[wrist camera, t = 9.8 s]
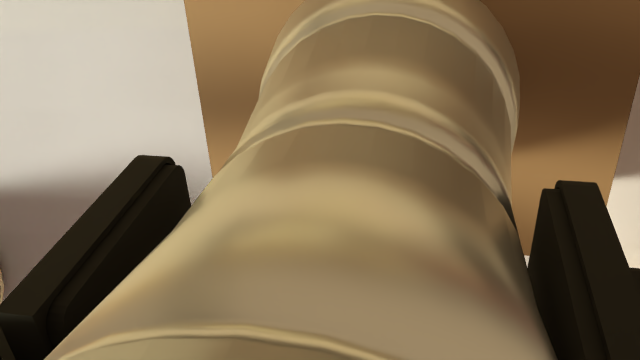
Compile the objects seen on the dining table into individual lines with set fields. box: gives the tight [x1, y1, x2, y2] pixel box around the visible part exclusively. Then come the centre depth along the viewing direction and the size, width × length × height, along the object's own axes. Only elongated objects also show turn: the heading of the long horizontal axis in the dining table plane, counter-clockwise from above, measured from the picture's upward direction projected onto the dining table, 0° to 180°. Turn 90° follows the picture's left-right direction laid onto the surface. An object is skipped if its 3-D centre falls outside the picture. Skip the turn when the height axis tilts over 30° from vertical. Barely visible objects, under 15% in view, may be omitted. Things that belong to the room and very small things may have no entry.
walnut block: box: [184, 0, 640, 256], centre depth 19 cm, size 13×13×5 cm
